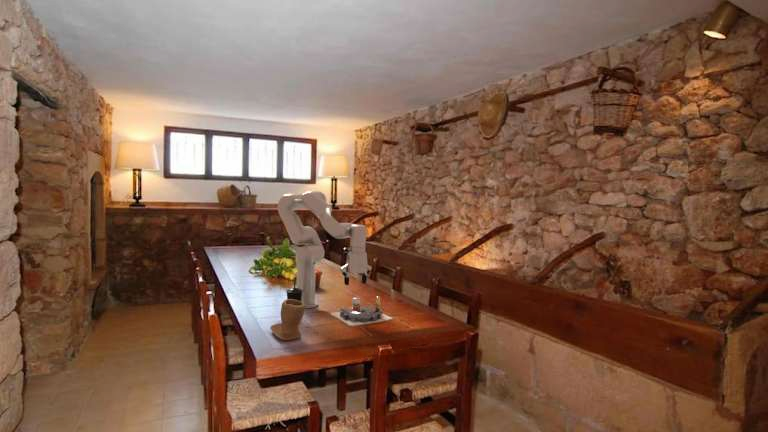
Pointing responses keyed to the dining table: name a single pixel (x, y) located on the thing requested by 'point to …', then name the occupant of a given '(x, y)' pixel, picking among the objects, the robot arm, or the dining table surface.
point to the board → (356, 323)
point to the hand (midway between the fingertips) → (355, 284)
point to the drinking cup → (294, 292)
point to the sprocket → (363, 312)
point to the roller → (355, 303)
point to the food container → (317, 278)
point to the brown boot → (289, 320)
